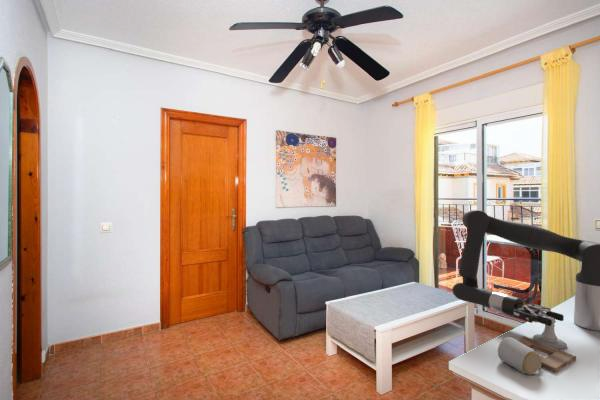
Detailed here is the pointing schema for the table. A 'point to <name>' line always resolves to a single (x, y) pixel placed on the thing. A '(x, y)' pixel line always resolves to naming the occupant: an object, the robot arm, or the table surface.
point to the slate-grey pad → (558, 345)
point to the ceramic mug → (519, 356)
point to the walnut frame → (555, 358)
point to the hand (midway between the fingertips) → (557, 320)
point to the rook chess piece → (549, 332)
